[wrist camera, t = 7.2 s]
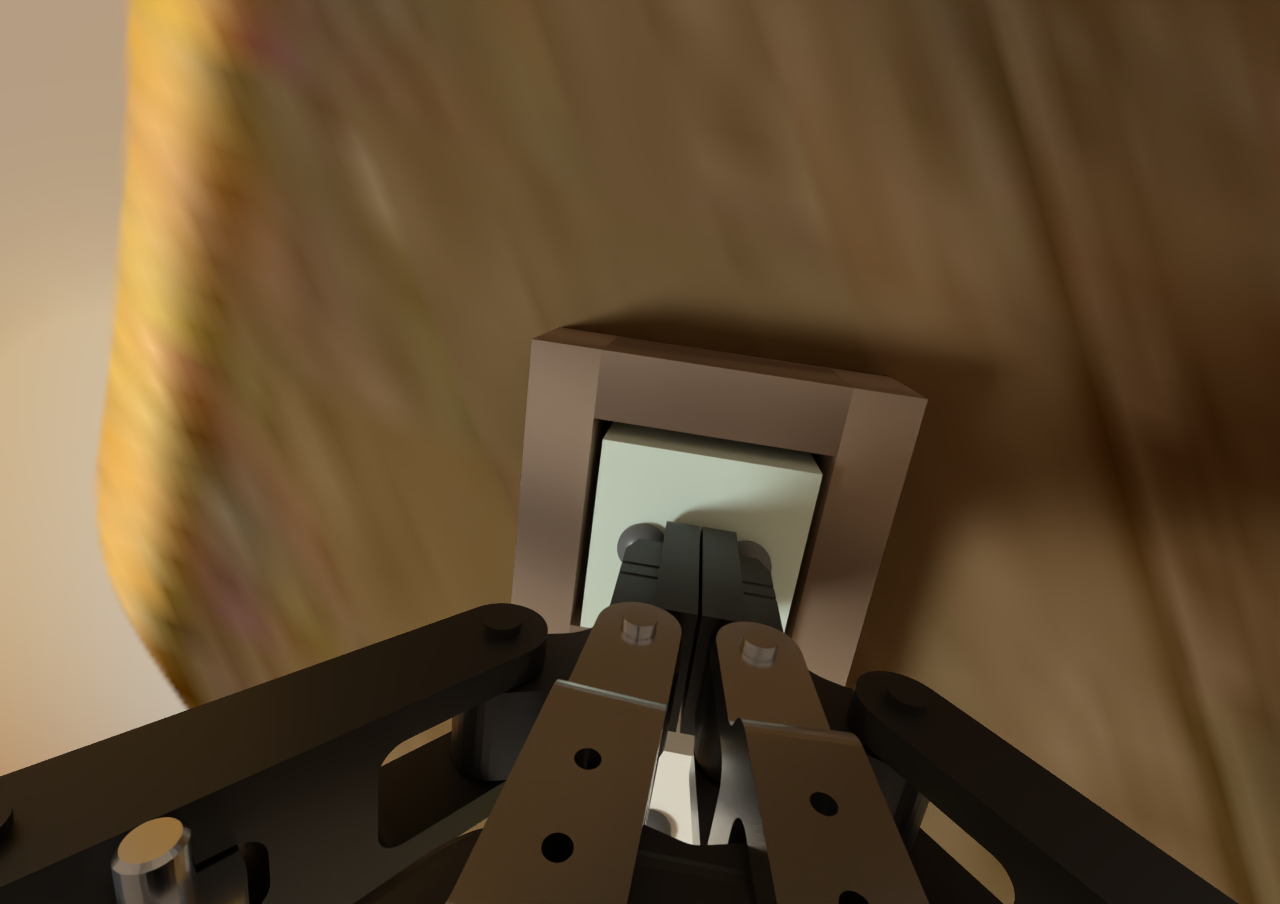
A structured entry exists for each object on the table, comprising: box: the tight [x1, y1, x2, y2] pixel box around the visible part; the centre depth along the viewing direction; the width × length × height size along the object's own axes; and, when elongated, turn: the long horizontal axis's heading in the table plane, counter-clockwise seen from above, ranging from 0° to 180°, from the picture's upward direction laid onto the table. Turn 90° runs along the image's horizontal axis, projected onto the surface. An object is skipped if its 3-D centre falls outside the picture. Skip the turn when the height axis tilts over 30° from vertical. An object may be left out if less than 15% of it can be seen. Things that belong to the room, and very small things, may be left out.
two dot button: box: [580, 421, 823, 632], centre depth 14 cm, size 4×4×3 cm
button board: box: [511, 327, 928, 687], centre depth 17 cm, size 21×8×2 cm, turn 172°
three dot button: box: [646, 708, 694, 845], centre depth 15 cm, size 4×4×3 cm
